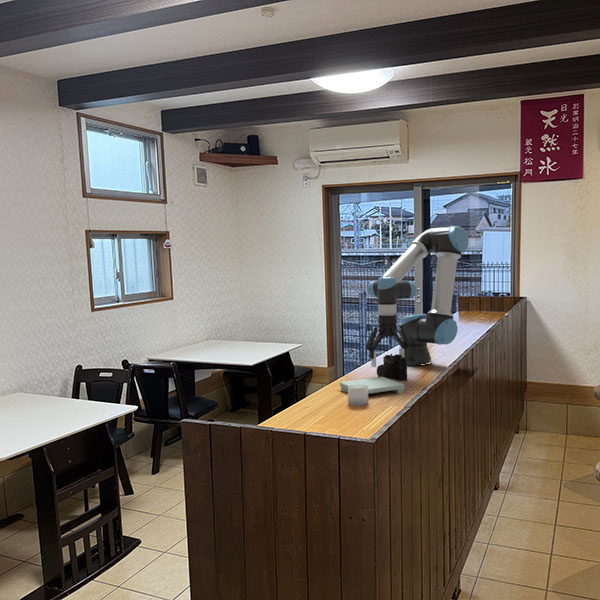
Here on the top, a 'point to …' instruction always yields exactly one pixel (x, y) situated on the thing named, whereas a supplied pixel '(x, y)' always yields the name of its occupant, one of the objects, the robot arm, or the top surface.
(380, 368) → the camera
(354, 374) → the top surface
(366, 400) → the grey rounded block
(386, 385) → the stand
